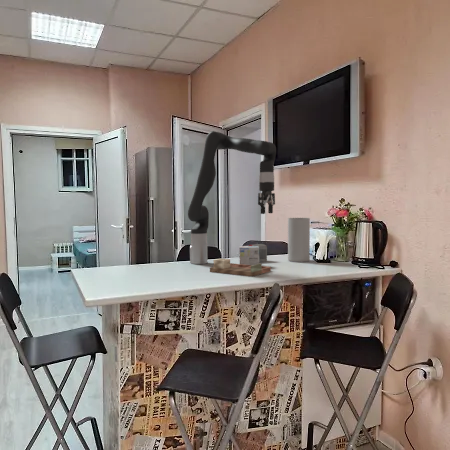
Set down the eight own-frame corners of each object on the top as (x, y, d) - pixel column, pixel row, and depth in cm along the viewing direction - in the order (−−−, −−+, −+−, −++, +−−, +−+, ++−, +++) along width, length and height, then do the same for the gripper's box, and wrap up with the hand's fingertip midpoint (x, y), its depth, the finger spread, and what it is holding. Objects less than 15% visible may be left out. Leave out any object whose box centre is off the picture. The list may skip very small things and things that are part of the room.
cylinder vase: (313, 260, 235) (313, 218, 233) (302, 263, 225) (302, 218, 224) (295, 258, 243) (295, 217, 241) (283, 261, 233) (283, 218, 232)
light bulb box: (259, 265, 220) (259, 245, 219) (259, 267, 213) (259, 247, 213) (240, 265, 221) (239, 245, 220) (239, 267, 214) (239, 247, 214)
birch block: (213, 267, 200) (213, 259, 200) (220, 266, 205) (220, 258, 205) (223, 268, 197) (223, 260, 196) (230, 267, 202) (230, 259, 201)
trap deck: (209, 271, 200) (209, 261, 200) (229, 266, 215) (229, 257, 214) (252, 276, 186) (252, 265, 186) (270, 270, 201) (270, 261, 200)
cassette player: (242, 263, 229) (242, 245, 228) (240, 262, 231) (240, 245, 230) (266, 261, 235) (266, 244, 234) (264, 260, 237) (264, 243, 237)
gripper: (266, 182, 209) (266, 213, 210) (253, 181, 197) (253, 214, 198) (279, 181, 205) (279, 213, 206) (267, 180, 193) (267, 214, 194)
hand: (266, 213), depth 202 cm, fingers open, 8 cm apart
